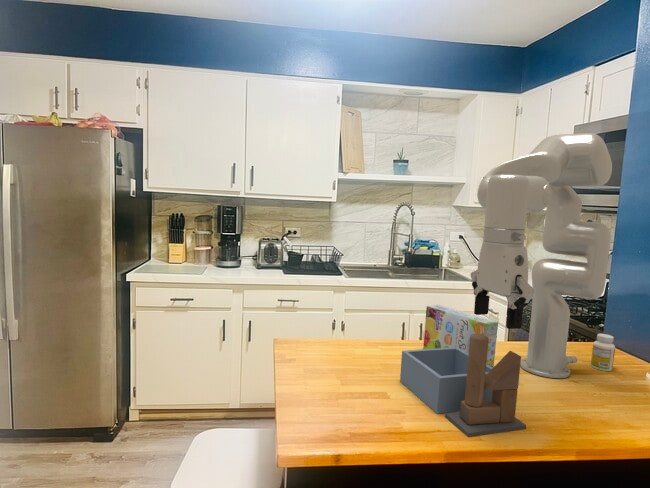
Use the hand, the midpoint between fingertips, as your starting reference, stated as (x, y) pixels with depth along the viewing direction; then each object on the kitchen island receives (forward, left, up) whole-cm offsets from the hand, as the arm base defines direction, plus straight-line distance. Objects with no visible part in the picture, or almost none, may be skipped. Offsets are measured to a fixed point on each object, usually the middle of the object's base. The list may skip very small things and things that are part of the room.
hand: (496, 320), depth 88 cm
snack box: (-14, -31, -22) cm, 40 cm away
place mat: (0, 0, -22) cm, 22 cm away
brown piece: (0, 0, -21) cm, 21 cm away
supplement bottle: (-56, -20, -22) cm, 63 cm away
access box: (0, -14, -22) cm, 26 cm away
